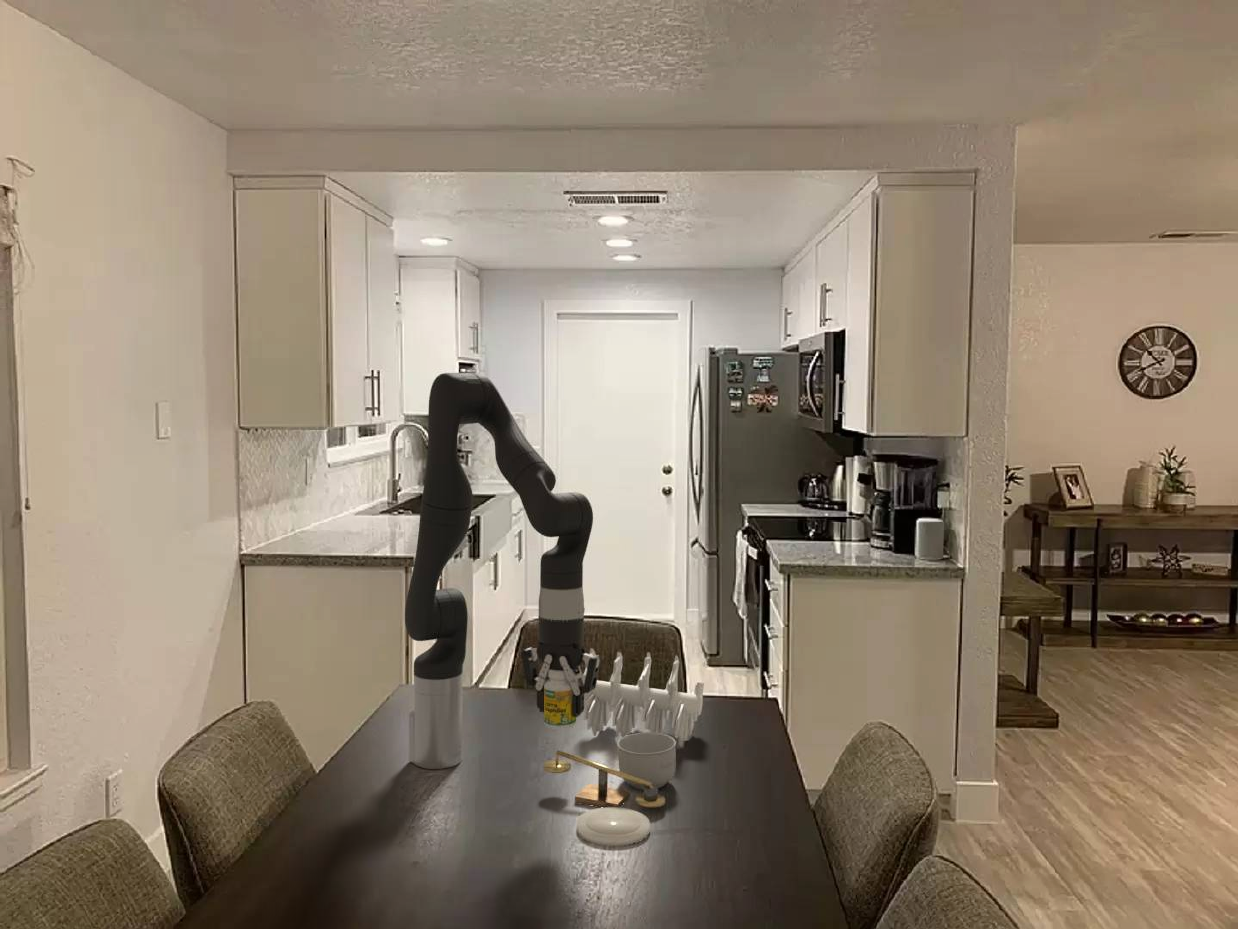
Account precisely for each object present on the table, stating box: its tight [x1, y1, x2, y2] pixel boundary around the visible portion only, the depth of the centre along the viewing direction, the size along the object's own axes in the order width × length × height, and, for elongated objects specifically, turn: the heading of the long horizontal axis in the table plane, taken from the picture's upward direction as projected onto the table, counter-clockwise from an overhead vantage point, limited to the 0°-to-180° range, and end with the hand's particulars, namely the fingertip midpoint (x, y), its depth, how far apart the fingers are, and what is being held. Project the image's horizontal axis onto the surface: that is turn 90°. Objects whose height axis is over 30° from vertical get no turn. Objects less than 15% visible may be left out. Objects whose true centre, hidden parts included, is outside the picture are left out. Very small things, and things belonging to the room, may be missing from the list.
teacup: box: [616, 729, 677, 790], centre depth 185 cm, size 14×11×8 cm
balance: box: [542, 749, 666, 809], centre depth 175 cm, size 23×6×8 cm, turn 69°
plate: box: [576, 807, 651, 847], centre depth 164 cm, size 12×12×1 cm
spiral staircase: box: [582, 647, 705, 746], centre depth 207 cm, size 18×18×25 cm
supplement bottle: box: [543, 669, 577, 730], centre depth 167 cm, size 5×5×10 cm
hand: (560, 713), depth 167 cm, fingers closed on supplement bottle, 5 cm apart
